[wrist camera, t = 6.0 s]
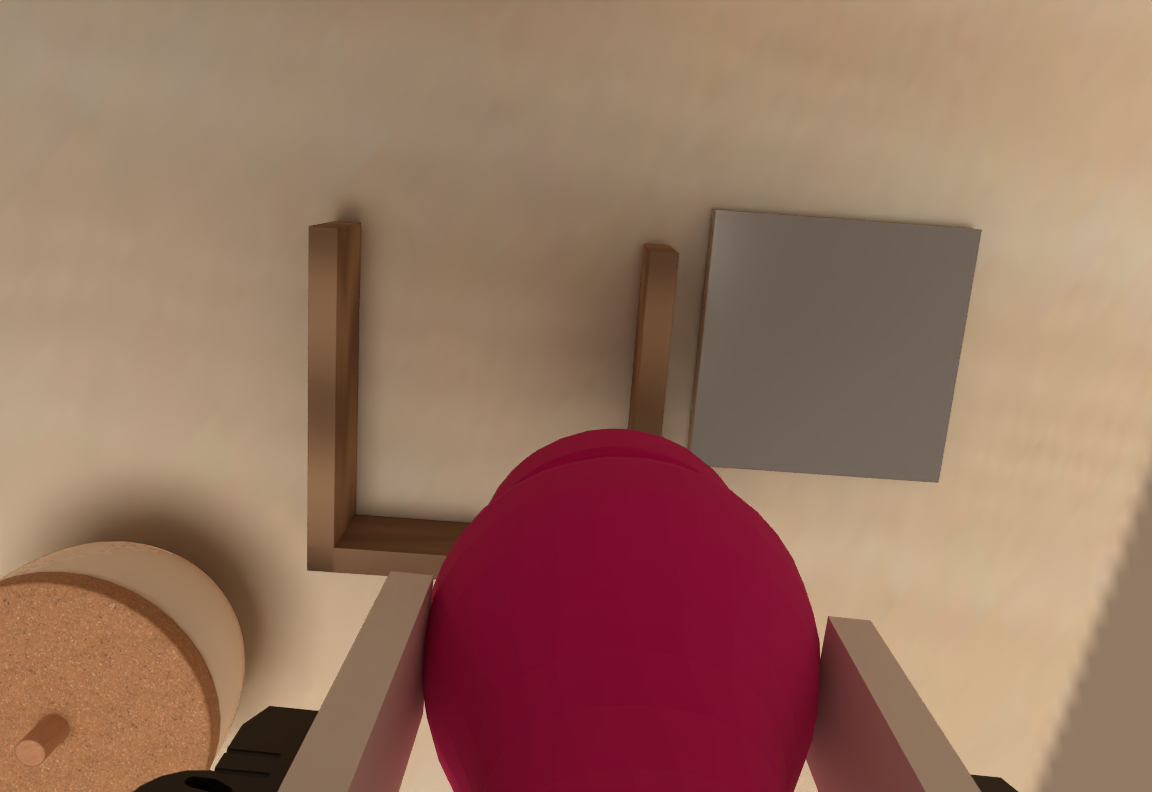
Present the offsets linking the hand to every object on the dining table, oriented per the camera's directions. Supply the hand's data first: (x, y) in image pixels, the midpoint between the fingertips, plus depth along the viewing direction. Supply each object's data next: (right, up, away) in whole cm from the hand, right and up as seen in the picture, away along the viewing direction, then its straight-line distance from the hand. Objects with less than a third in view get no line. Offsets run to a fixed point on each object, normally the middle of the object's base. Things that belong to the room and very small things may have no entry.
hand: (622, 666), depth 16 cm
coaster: (+9, +7, +20) cm, 23 cm away
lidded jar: (-19, -5, +24) cm, 31 cm away
